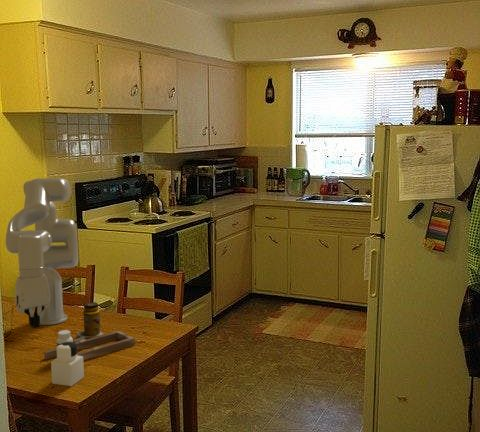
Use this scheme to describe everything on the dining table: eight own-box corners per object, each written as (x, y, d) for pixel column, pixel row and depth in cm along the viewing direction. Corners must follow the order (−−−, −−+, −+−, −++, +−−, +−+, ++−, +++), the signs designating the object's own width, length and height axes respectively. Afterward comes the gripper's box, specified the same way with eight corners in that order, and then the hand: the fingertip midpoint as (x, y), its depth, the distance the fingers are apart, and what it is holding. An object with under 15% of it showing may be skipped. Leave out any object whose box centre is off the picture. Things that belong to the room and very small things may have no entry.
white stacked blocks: (65, 374, 178) (63, 338, 176) (84, 377, 176) (82, 341, 174) (51, 383, 171) (49, 347, 169) (71, 386, 169) (69, 349, 167)
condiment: (103, 334, 213) (102, 304, 211) (82, 339, 208) (80, 308, 206) (97, 329, 219) (96, 299, 217) (76, 333, 214) (74, 303, 212)
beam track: (40, 355, 192) (40, 348, 192) (114, 334, 212) (114, 327, 212) (59, 368, 182) (58, 360, 182) (135, 344, 202) (134, 337, 202)
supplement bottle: (53, 360, 188) (52, 333, 186) (64, 355, 193) (63, 328, 191) (66, 363, 186) (65, 335, 185) (77, 357, 191) (75, 330, 190)
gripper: (48, 266, 185) (51, 319, 188) (3, 274, 175) (7, 329, 178) (58, 270, 180) (61, 324, 183) (13, 278, 170) (16, 335, 172)
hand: (34, 326), depth 180 cm, fingers closed
